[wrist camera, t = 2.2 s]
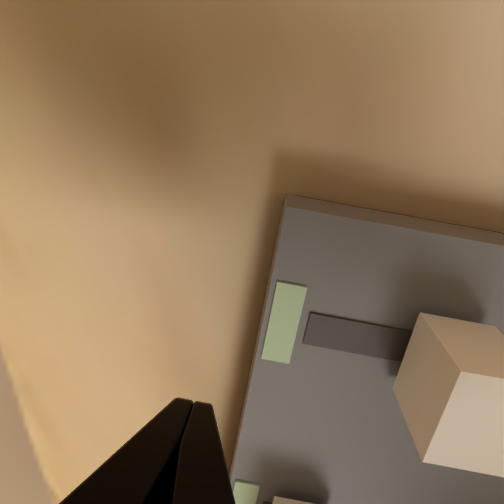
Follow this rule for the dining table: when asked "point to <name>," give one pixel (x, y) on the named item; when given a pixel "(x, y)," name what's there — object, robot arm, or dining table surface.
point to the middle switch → (287, 501)
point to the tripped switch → (454, 393)
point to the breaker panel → (356, 355)
